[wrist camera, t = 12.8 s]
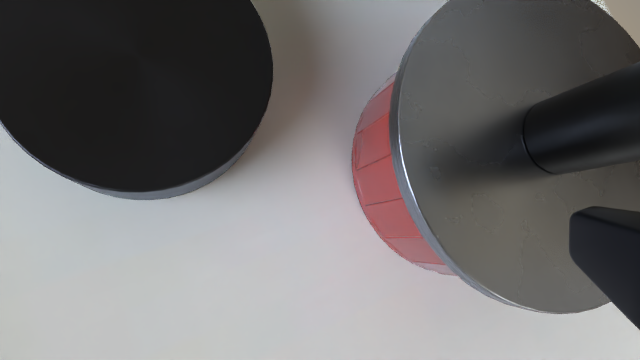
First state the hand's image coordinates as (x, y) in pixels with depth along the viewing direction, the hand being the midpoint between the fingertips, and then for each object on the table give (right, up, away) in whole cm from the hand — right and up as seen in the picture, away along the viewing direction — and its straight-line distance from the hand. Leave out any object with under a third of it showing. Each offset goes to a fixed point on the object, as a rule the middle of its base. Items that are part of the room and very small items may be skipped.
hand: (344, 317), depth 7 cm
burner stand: (-8, +6, +11) cm, 15 cm away
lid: (+8, +4, +9) cm, 13 cm away
